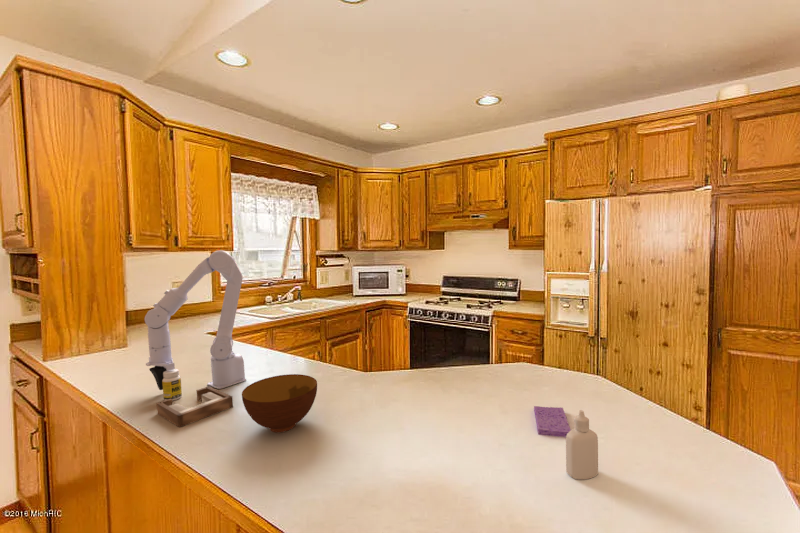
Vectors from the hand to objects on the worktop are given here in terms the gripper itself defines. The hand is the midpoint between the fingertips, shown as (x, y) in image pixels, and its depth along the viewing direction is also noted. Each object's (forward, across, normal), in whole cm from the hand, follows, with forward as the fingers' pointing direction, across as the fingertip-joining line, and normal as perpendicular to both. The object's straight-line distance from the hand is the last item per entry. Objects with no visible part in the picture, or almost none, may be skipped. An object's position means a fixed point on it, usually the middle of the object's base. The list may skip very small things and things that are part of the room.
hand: (163, 388), depth 116 cm
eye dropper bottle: (+2, +115, +28) cm, 118 cm away
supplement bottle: (+2, +7, 0) cm, 7 cm away
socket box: (+2, +22, 0) cm, 22 cm away
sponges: (+2, +105, +45) cm, 114 cm away
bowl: (+2, +51, +8) cm, 51 cm away
